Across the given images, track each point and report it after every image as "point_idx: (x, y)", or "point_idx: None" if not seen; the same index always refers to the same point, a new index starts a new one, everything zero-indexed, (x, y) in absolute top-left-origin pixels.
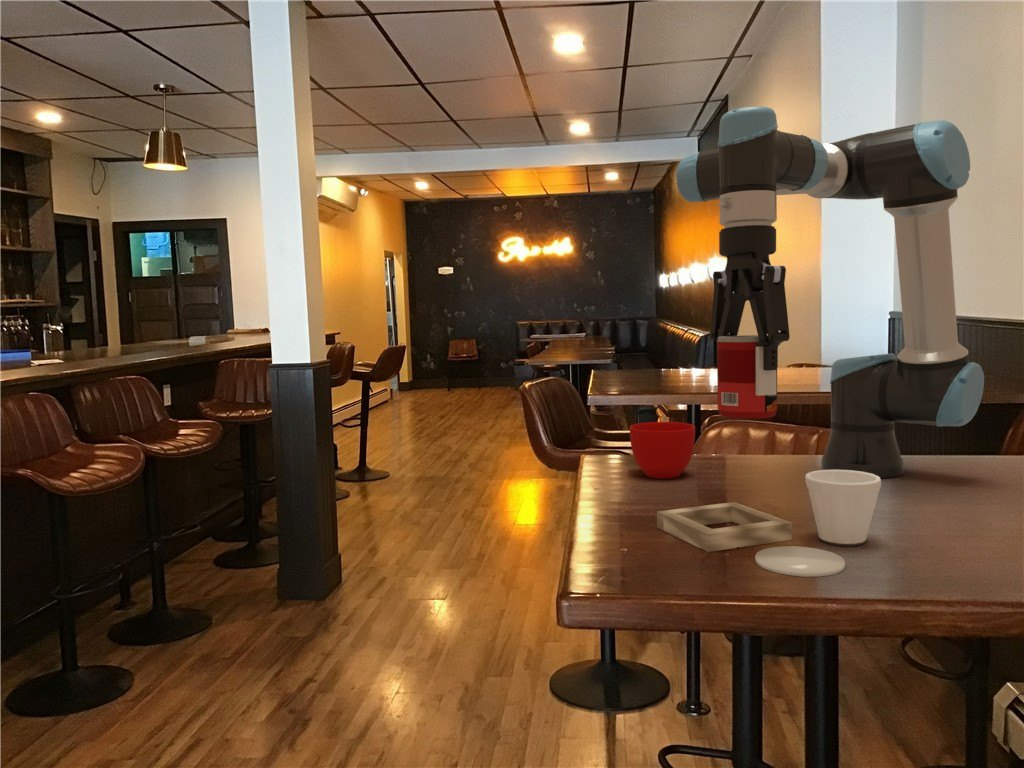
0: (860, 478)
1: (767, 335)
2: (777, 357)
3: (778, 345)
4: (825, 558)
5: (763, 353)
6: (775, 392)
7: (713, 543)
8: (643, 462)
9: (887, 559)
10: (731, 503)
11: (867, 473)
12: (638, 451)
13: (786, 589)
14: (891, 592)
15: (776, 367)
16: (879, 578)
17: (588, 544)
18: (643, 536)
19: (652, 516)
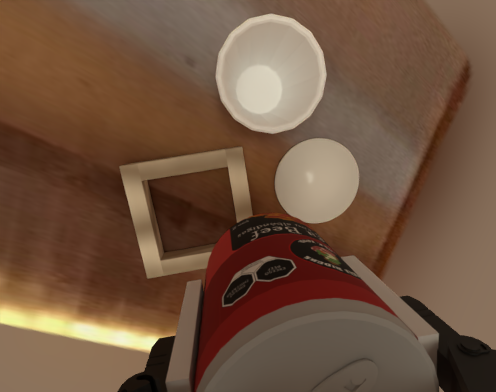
0: (253, 30)
1: (297, 325)
2: (439, 318)
3: (459, 336)
4: (326, 157)
5: None
6: (356, 259)
7: None
8: None
9: (334, 86)
10: (127, 174)
11: (265, 20)
12: None
13: (373, 227)
14: (411, 146)
15: (415, 301)
16: (378, 133)
17: None
18: (183, 292)
19: (98, 258)
